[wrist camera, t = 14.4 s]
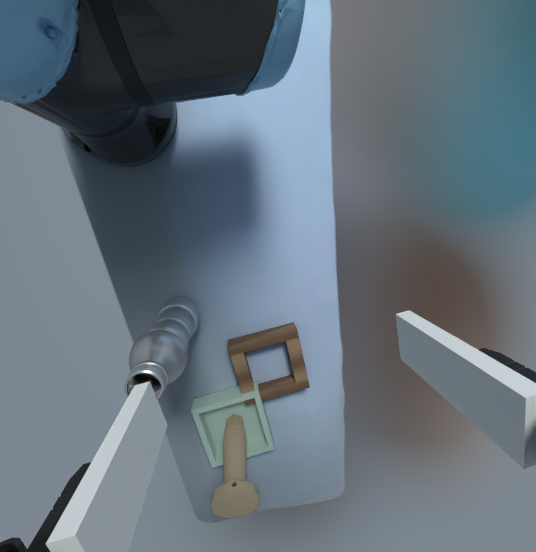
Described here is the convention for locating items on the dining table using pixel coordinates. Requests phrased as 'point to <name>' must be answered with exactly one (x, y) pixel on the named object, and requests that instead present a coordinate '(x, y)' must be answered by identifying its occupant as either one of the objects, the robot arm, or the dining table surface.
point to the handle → (234, 475)
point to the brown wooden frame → (264, 339)
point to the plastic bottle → (163, 347)
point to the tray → (223, 405)
